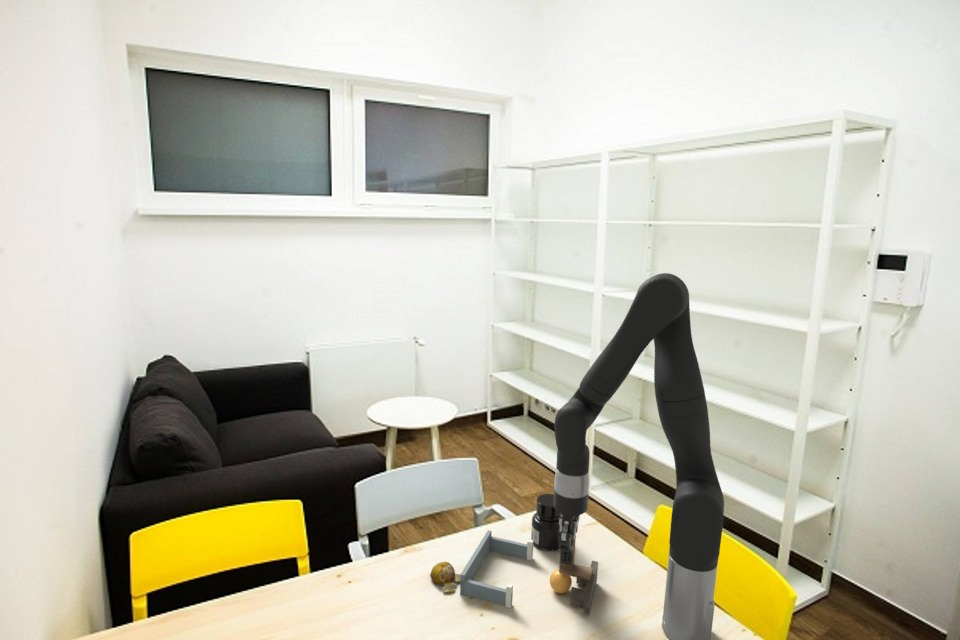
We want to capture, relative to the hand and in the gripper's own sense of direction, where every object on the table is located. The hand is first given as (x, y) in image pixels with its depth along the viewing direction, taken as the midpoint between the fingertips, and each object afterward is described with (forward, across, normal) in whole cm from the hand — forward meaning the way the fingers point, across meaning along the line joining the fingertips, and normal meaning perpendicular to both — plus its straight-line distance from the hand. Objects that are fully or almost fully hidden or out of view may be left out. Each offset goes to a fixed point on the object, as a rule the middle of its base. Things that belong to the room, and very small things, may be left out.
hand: (567, 558), depth 123 cm
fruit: (+9, -7, +26) cm, 29 cm away
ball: (+6, 0, +1) cm, 6 cm away
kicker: (+8, 0, -2) cm, 9 cm away
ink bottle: (+9, +18, +8) cm, 22 cm away
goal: (+9, 0, +16) cm, 18 cm away
